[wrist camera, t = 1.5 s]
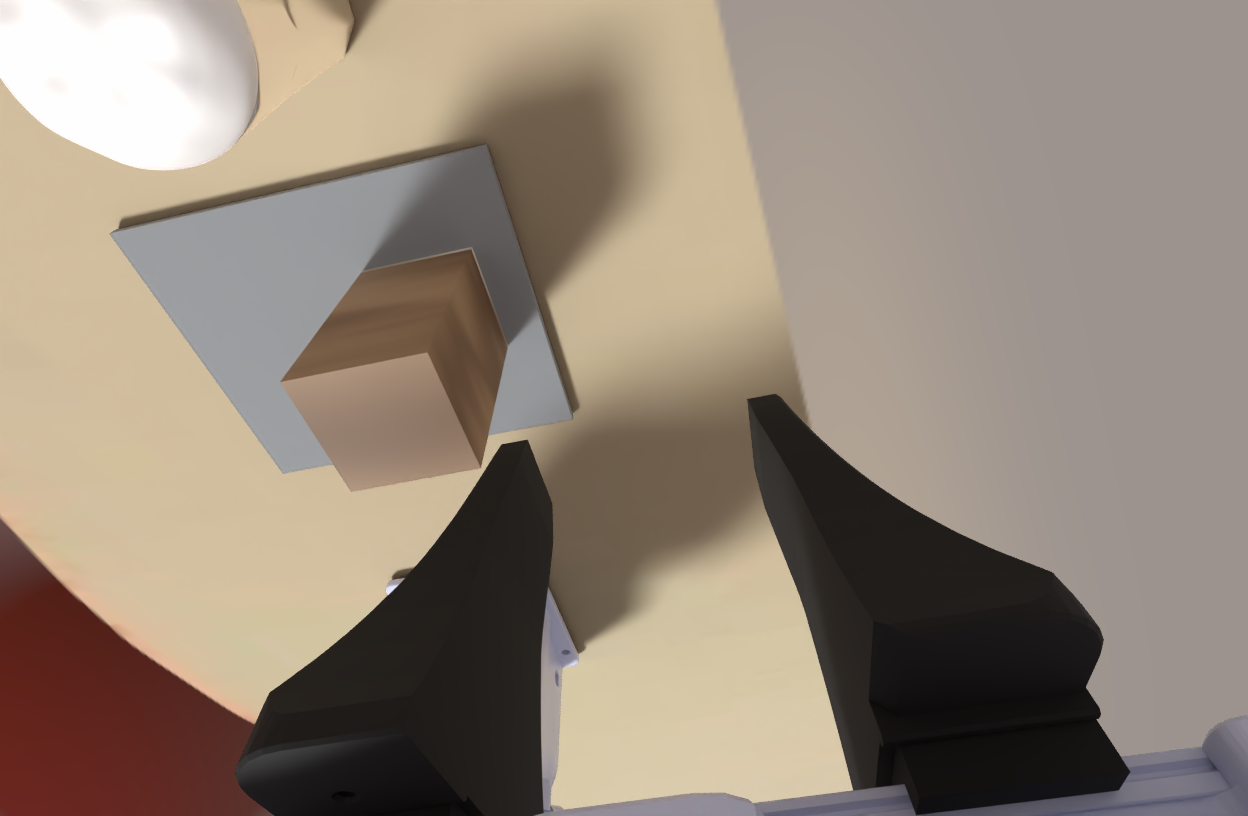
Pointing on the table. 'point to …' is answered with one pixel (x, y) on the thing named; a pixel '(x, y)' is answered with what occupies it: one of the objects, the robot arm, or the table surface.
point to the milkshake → (164, 69)
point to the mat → (338, 283)
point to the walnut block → (404, 372)
